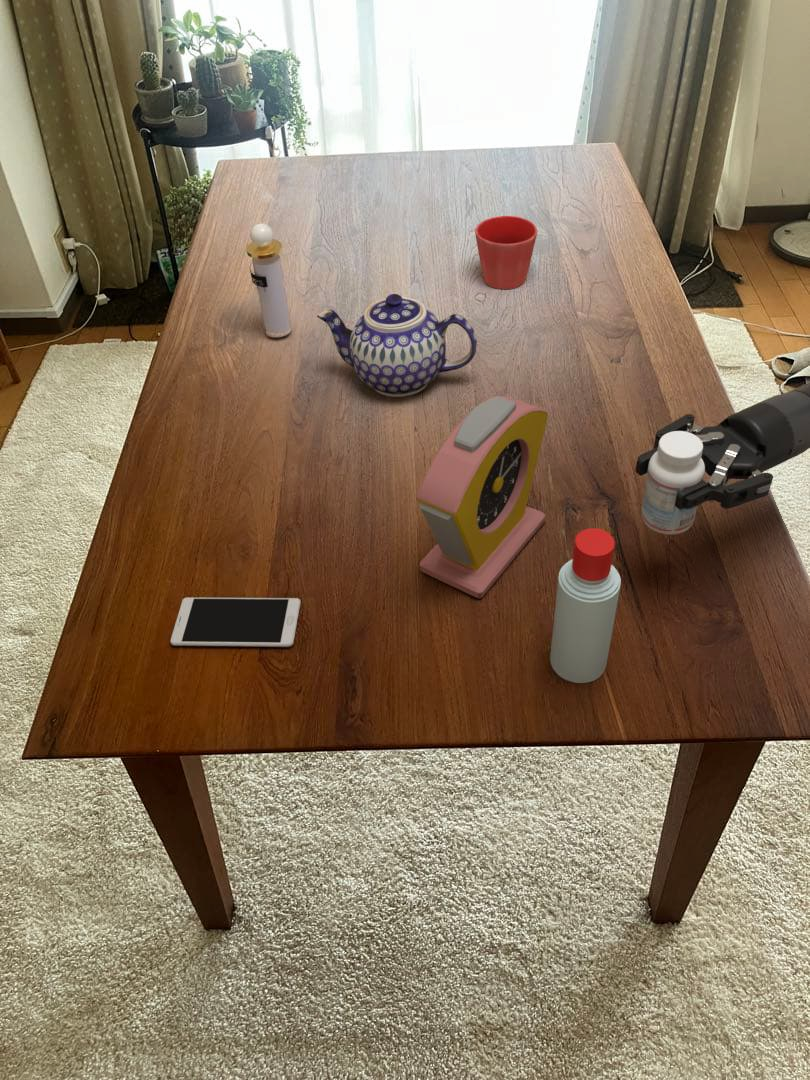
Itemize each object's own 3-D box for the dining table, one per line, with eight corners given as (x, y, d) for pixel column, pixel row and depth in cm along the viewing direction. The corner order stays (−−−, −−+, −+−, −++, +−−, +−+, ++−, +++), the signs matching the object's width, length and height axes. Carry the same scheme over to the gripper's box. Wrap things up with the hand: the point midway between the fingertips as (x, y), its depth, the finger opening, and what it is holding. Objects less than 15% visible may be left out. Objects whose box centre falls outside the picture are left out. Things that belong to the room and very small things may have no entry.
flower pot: (504, 301, 159) (506, 250, 152) (463, 278, 165) (463, 228, 158) (546, 279, 163) (550, 229, 157) (505, 259, 170) (506, 209, 163)
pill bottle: (684, 498, 107) (701, 423, 99) (699, 534, 102) (718, 459, 94) (634, 502, 107) (646, 428, 99) (647, 539, 102) (660, 464, 94)
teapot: (484, 360, 146) (485, 277, 136) (466, 415, 136) (466, 330, 126) (339, 345, 152) (329, 265, 141) (311, 397, 142) (299, 315, 131)
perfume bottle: (281, 321, 158) (263, 212, 144) (302, 333, 155) (285, 223, 141) (256, 334, 156) (234, 225, 141) (276, 346, 152) (256, 236, 138)
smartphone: (292, 644, 106) (168, 643, 107) (293, 648, 106) (169, 646, 107) (301, 597, 111) (182, 596, 112) (301, 600, 111) (184, 599, 112)
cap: (617, 575, 91) (622, 549, 88) (583, 586, 90) (586, 560, 87) (599, 550, 93) (603, 524, 91) (565, 560, 93) (568, 534, 90)
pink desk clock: (468, 616, 108) (468, 483, 93) (406, 585, 112) (396, 453, 97) (555, 510, 121) (568, 377, 105) (496, 486, 125) (500, 354, 109)
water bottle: (616, 673, 101) (638, 558, 88) (565, 690, 100) (580, 575, 87) (590, 632, 106) (607, 516, 92) (540, 648, 104) (551, 532, 91)
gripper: (733, 375, 106) (619, 424, 101) (828, 440, 97) (708, 497, 92) (721, 425, 111) (612, 474, 106) (810, 491, 102) (696, 547, 97)
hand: (658, 484), depth 99 cm, fingers closed on pill bottle, 6 cm apart
